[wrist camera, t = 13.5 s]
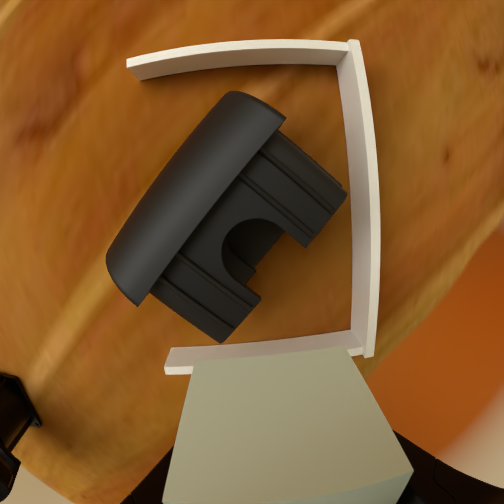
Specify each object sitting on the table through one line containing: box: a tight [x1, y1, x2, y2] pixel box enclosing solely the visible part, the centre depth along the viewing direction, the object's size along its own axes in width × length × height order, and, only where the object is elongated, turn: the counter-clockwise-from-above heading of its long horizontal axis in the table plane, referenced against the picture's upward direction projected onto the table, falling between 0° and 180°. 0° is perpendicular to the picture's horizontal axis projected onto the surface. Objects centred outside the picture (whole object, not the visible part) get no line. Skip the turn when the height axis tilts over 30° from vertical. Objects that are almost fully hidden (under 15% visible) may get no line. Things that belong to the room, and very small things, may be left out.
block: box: [162, 345, 414, 504], centre depth 7 cm, size 4×4×5 cm
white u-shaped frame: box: [127, 39, 380, 374], centre depth 17 cm, size 19×13×3 cm
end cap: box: [106, 91, 347, 343], centre depth 15 cm, size 10×7×7 cm
